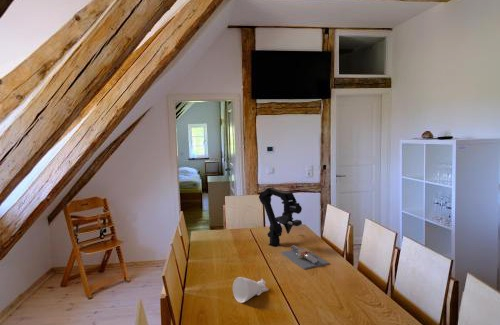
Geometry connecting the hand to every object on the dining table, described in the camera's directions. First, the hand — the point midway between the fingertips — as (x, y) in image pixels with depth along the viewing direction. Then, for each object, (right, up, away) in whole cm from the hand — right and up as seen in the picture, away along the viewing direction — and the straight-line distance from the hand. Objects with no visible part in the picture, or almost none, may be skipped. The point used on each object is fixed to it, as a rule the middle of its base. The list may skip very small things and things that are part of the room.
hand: (288, 233), depth 219 cm
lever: (+4, -11, -15) cm, 19 cm away
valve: (+9, -13, -14) cm, 21 cm away
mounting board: (+9, -13, -14) cm, 21 cm away
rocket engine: (-24, -18, -60) cm, 67 cm away
